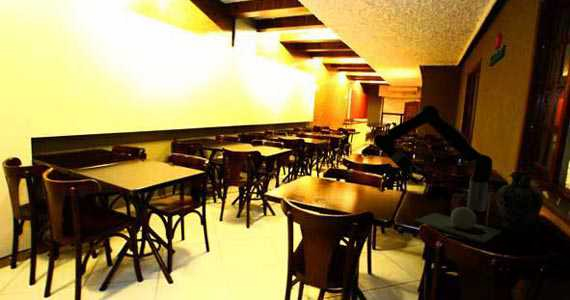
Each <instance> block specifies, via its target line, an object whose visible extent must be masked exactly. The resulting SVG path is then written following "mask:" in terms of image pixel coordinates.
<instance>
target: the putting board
mask: <svg viewBox="0 0 570 300" xmlns="http://www.w3.org/2000/svg"><path fill="white" fill-rule="evenodd" d="M502 196H503V194H498V192H493V191H489V193H488V200H487V208H486V211H487V212H486V217H485V218H486V220H485V226H484V225H482V224H477V223H476V224H475V226H474V227H473V228H472V229H475V230H479V231H482V232H484V233H483V234H472V233H468V232H465V231H462V230H460V229H459V230H458V229H457V228H456V227H455V226H454V225H453V223H452V222H451V216H449V215H445V214H442V213H438V212H434V213H430V214H428V215H425V216H423V217H420V218H417V219H415V220H414V223H416V224H420V225H422V223H426V224H429V225H430V226H432V227H433V228H432V227H431V228H432V229H436V230H439V231H441V230H442V231H441V232H446V233H448V234H452V235H454V234H456V235H455V236H457V235H459V236H458V237H461V236H463V237H462V238H464V237H466V238H465V239H467V238H471V239H475V240H478V241H481V242H486V243H487V241H488V242H489V241H491V240H492V239H494V238H495V237H497V236H498V235H501V233H502V230H499V229H496V228H492V227H488V225H489V222H488V221H489V218H490V217H489V215H490V209H491V200H495V201H496V200H499V201H502Z"/></svg>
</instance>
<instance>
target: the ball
mask: <svg viewBox="0 0 570 300" xmlns="http://www.w3.org/2000/svg"><path fill="white" fill-rule="evenodd" d="M450 217H451V222H452V223H453V225H454V226H455V227H454V228H456V229H457V230H458V229H459V230H460V231H462V230H463V231H467V230H470V229H474V228H473V227H474V226H475V224H477V216H476V214H475V211H473V210H471V209H469V208H467V206H466V207H458V208H456V209H454V210H453V211H452V213H451V212H450Z"/></svg>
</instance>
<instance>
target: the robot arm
mask: <svg viewBox="0 0 570 300" xmlns="http://www.w3.org/2000/svg"><path fill="white" fill-rule="evenodd" d="M439 114H440V112H439V109H438V108H437V107H436V106H433V105H428V104H427V105H423V106H421V107H420V108H419V110H418V114H417V115H415V116H414V117H412V118H410V119H407V120H406V121H403V122H401V123H399V124H397V125H394V126H393V127H392V128H390V129H389V130H387V131H386V132H387V133H385V134H376V135H375V137H374V139H373V142H374V144H375V146H376V147H377V148H378V149H380V150H382V151H383V152H384V154H385V155H386V156H387V157H388V158H389V159H390V160H391V161H392V162H393V163H394V164H395V166H397V167H398V168H399V169H400V170H401V171H400V174H401V176H403V178H404V179H405V180H406V181H407V180H408V181H409V180H410V181H412V182H413V183H414V184H416V185H417V184H419V183H420V181H419V180H418V179H417V178H416V177H415V176H414V174H415V173H417V174H420V175H421V176H422V177H424V178H425V179H426V178H428V177H429V175H428V174H427V173H426V172H425V171H424V170H425V167H424V166H423V165H421V163H419V162H418V161H415V162H414V163H413V162H412V160H411V159H410V158H409V157H408V156H407V155H406V154H405V153H404V152H403V151H401V150H400V149H399V148H397V147H396V146H395V145H394V144H393V142H395V141H396V140H398V139H399V138H401V137H403V136H404V135H406V134H408V133H411V131H413V130H415V129H416V128H417V129H418V128H419V127H421V126H423V125H426V124H428V125H429V126H431V127H432V128H433V130H435V131H436V132H437V133H438V135H439V136H440V137H441V138H442V139H443V140H444V141H445V142H446V143H447V144H448V145H449V146H450V147H451V148H453V149H454V150H455V151H456V152H457V153H459V154H460V155H462V156H463V158H464V159H465V160H466V161H467V162H468V164H469V165H470V166H471V167H472V168H474V171H473V173H472V175H470V177H469V184H468V193H467V200H466V208H469V209H471V210H472V211H473V212H479V213H480V212H481V213H482V212H485V211H487V209H488V200H489V194H487V193H488V186H489V185H488V184H489V180H490V179H491V174H492V170H493V160H492V158H491V157H490V156H489V155H487V154H484V153H481V152H479V151H477V150H476V149H475V148H474V147H473V146H472V145H471V143H470V142H469V140H468V138H467V137H466V136H465V135H464V134H463V133H462V132H461V131H460V130H459V129H458V128H457V127H455V126H454V125H453V124H451V123H449V122H448V121H446V120H445V119H443V117H441V115H439Z"/></svg>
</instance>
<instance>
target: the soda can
mask: <svg viewBox="0 0 570 300" xmlns="http://www.w3.org/2000/svg"><path fill="white" fill-rule="evenodd" d="M458 207H466V208H467V196H466V195H465V194H463V193H460V192H459V193H458V192H455V193H453V195H452V196H451V202H450V214H451V213H452V211H453V210H454V209H456V208H458Z"/></svg>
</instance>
